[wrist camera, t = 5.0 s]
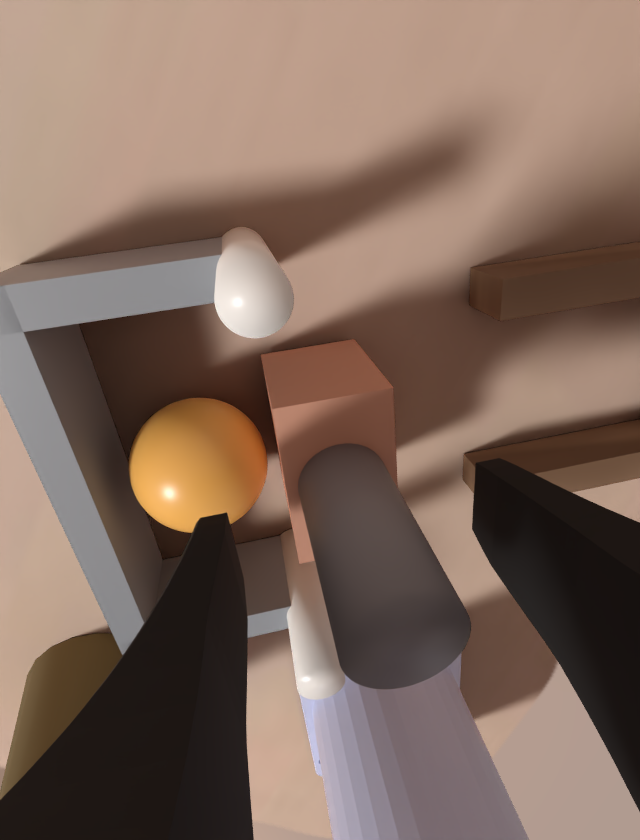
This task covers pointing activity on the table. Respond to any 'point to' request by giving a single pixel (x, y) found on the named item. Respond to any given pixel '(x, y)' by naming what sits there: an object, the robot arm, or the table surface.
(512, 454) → the rail frame
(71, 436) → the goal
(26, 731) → the olive green tapered cylinder
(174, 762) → the robot arm
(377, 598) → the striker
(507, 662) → the table surface
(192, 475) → the ball
